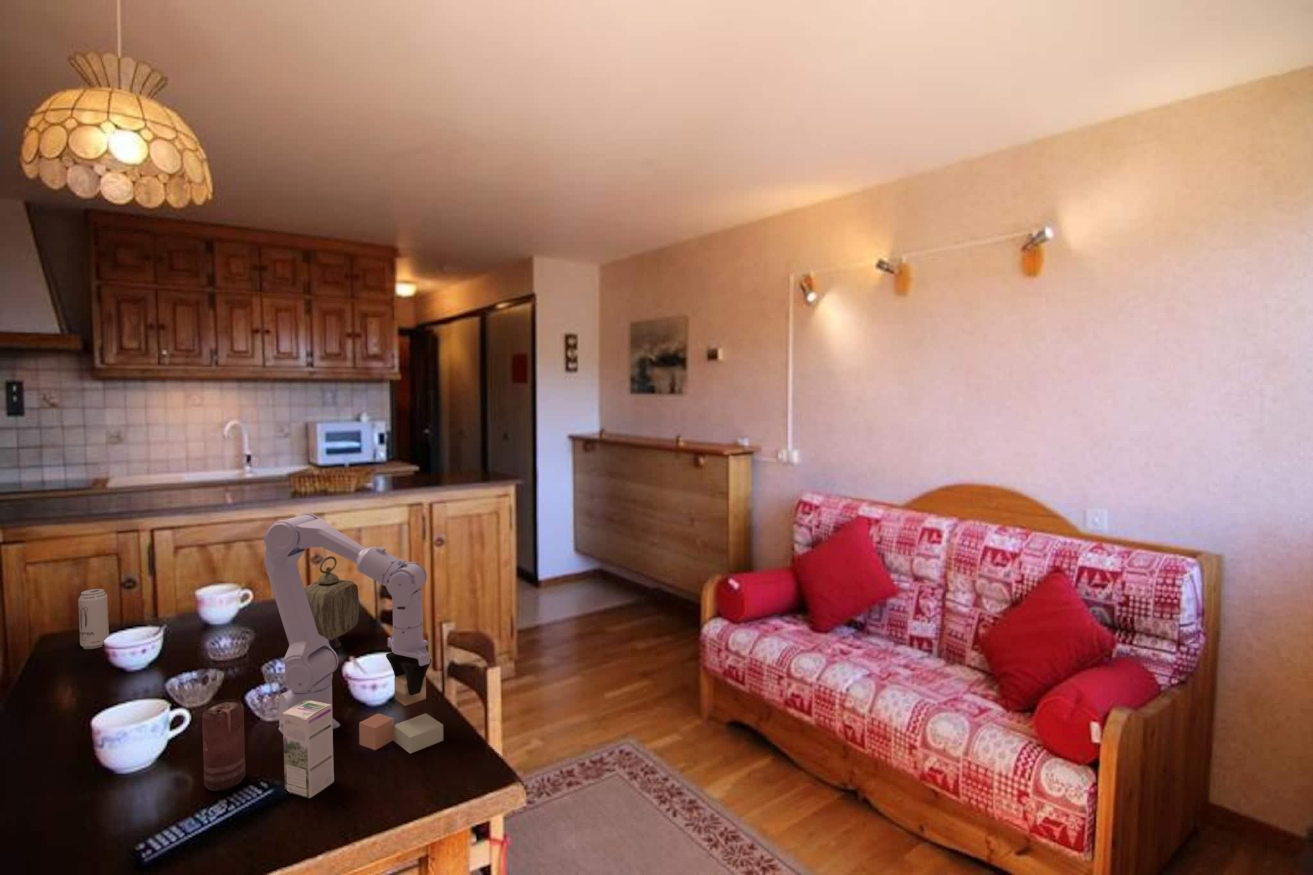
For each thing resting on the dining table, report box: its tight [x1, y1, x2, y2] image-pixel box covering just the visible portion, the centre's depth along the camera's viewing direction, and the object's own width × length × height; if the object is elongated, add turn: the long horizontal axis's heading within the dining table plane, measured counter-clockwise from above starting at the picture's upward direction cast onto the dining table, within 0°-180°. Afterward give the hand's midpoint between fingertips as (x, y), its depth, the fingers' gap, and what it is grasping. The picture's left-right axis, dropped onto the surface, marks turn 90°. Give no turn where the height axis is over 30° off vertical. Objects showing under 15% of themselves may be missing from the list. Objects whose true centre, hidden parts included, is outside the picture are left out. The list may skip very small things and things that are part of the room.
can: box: [201, 698, 246, 792], centre depth 118 cm, size 6×6×14 cm
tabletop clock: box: [304, 555, 360, 649], centre depth 181 cm, size 14×9×25 cm, turn 172°
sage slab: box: [392, 713, 444, 755], centre depth 134 cm, size 7×7×4 cm
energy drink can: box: [77, 588, 110, 650], centre depth 181 cm, size 6×6×15 cm
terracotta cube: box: [358, 713, 395, 751], centre depth 133 cm, size 4×4×4 cm
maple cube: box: [393, 674, 427, 706], centre depth 136 cm, size 4×4×4 cm
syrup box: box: [282, 700, 335, 799], centre depth 117 cm, size 6×6×14 cm
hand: (409, 689), depth 136 cm, fingers closed on maple cube, 4 cm apart
